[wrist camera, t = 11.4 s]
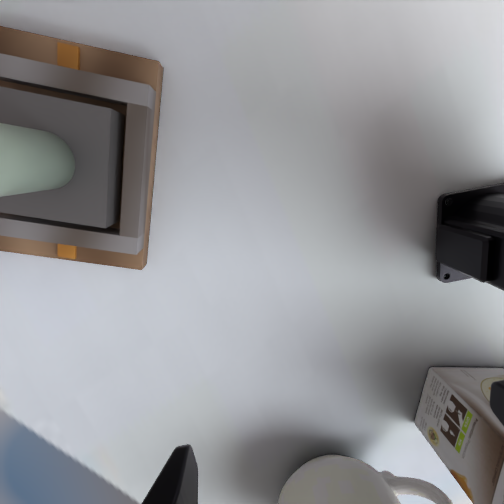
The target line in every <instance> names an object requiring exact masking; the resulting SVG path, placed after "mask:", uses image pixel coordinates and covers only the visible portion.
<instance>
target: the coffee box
mask: <svg viewBox="0 0 504 504" xmlns="http://www.w3.org/2000/svg"><path fill="white" fill-rule="evenodd" d="M499 380H504V368H465V367H431V368H429V371H428V374H427V378H426V381H425V385H424V388H423V392H422V396H421V399H420V403H419V407H418V410H417V414H416V417H415V425H416V426H417V428H418V429H419V430H420V431H421V433H422V434H423V435H424V437H425V438H426V440H427V441H428V442H429V444H430V445H431V446H432V448H433V449H434V451H435V452H436V453H437V455H438V456H439V457H440V459H441V460H442V462H443V463H444V464H445V466H446V467H447V468H448V470H449V471H450V473H451V474H452V475H453V477H454V478H455V479H456V481H457V482H458V483H459V485H460V486H461V488H462V489H463V490H464V492H465V493H466V494H467V496H468V497H469V498H470V500H471V501H472V503H473V504H504V426H503V425H502V424H501V422H500V421H499V420H498V418H497V417H496V416H495V414H494V413H493V412H492V410H491V407H490V404H489V401H490V389H491V384H492V383H493V382H494V381H499Z"/></svg>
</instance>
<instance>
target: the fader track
mask: <svg viewBox="0 0 504 504" xmlns="http://www.w3.org/2000/svg"><path fill="white" fill-rule="evenodd" d="M162 79H163V67H162V65H161V64H160V62H159V61H155V60H151V59H146V58H142V57H137V56H133V55H128V54H124V53H119V52H115V51H110V50H106V49H101V48H97V47H92V46H88V45H83V44H79V43H74V42H70V41H65V40H61V39H56V38H52V37H47V36H43V35H39V34H34V33H30V32H25V31H21V30H16V29H12V28H7V27H3V26H0V86H1V87H6V88H11V89H16V90H21V91H26V92H31V93H36V94H41V95H46V96H51V97H56V98H61V99H66V100H71V101H76V102H81V103H86V104H91V105H96V106H101V107H106V108H111V109H113V110H115V111H117V112H120V113H122V114H124V115H125V119H124V137H123V155H122V172H121V190H120V208H119V222H117V223H115V224H113V225H111V226H109V227H107V228H100V227H94V226H87V225H81V224H74V223H67V222H61V221H54V220H47V219H41V218H34V217H28V216H21V215H14V214H8V213H1V212H0V251H6V252H14V253H21V254H28V255H36V256H43V257H50V258H58V259H65V260H72V261H80V262H87V263H94V264H102V265H109V266H116V267H124V268H131V269H138V270H142V269H143V268H144V267H145V265H146V264H147V254H148V242H149V230H150V219H151V207H152V195H153V184H154V172H155V160H156V149H157V137H158V126H159V114H160V102H161V91H162Z"/></svg>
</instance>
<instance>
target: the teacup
mask: <svg viewBox="0 0 504 504" xmlns="http://www.w3.org/2000/svg"><path fill="white" fill-rule="evenodd" d="M405 494H407V495H418V496H421V497H425V498H427V499H429V500H431V501H433V502H435V503H436V504H453V503H452V501H451V500H450V499H449V498H448V497H447V495H446V494H445V493H443V492H442V491H441V490H440V489H439V488H437V487H436V486H434V485H433V484H431V483H429V482H426V481H423V480H420V479H415V478H409V477H397V476H394V475H393V474H392V473H390V472H388V471H382V472H378V471H377V470H375V469H374V468H373V467H371V466H370V465H368V464H366V463H365V462H362V461H360V460H358V459H354V458H351V457H346V456H341V455H324V456H319V457H317V458H314V459H312V460H310V461H308V462H306V463H305V464H303V465H302V466H301V467H300V468H299V469H298V470H296V471H295V472H294V473H293V474H292V475H291V476H290V478H289V479H288V480H287V482H286V483H285V485H284V486H283V488H282V490H281V493H280V496H279V499H278V504H401V503H400V502H399V500H398V498H397V496H398V495H405Z"/></svg>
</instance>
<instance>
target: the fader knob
mask: <svg viewBox="0 0 504 504" xmlns="http://www.w3.org/2000/svg"><path fill="white" fill-rule="evenodd" d="M124 119H125V115H124V114H122V113H120V112H117V111H115V110H113V109H111V108H106V107H101V106H96V105H91V104H86V103H81V102H76V101H71V100H66V99H61V98H56V97H51V96H46V95H41V94H36V93H31V92H26V91H21V90H16V89H11V88H6V87H1V86H0V212H1V213H8V214H14V215H21V216H28V217H34V218H41V219H47V220H54V221H61V222H67V223H74V224H81V225H87V226H94V227H100V228H107V227H109V226H111V225H113V224H115V223H117V222H119V208H120V190H121V172H122V155H123V137H124Z"/></svg>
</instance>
